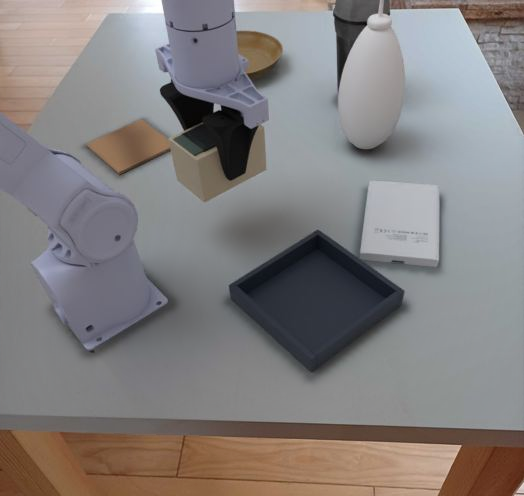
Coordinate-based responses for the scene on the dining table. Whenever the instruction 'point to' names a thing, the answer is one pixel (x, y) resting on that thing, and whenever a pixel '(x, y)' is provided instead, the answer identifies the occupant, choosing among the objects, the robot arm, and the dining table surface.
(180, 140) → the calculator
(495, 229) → the dining table surface
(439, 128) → the dining table surface
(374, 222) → the hard drive
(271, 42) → the plant saucer
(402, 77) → the sauce bottle
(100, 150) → the coaster
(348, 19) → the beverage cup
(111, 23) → the dining table surface
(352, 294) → the tray
